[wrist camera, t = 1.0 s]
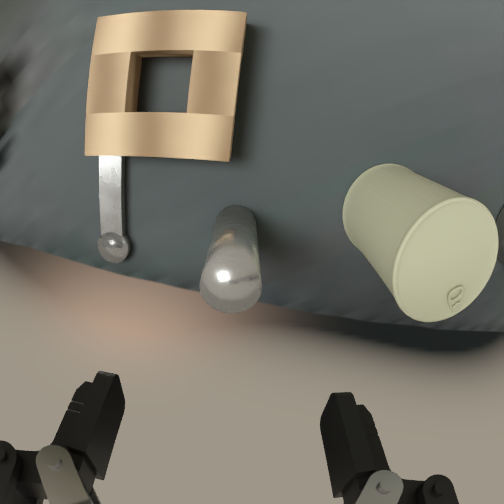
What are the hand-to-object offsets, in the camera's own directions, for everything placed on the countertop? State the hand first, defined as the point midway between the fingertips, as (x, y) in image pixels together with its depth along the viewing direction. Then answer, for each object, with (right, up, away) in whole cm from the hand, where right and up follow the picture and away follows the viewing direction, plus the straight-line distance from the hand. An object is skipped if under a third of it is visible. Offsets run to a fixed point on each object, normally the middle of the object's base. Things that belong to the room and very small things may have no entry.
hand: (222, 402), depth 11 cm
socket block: (-6, +20, +12) cm, 24 cm away
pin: (0, +8, +18) cm, 19 cm away
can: (+14, +10, +17) cm, 24 cm away
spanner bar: (-12, +10, +16) cm, 23 cm away
